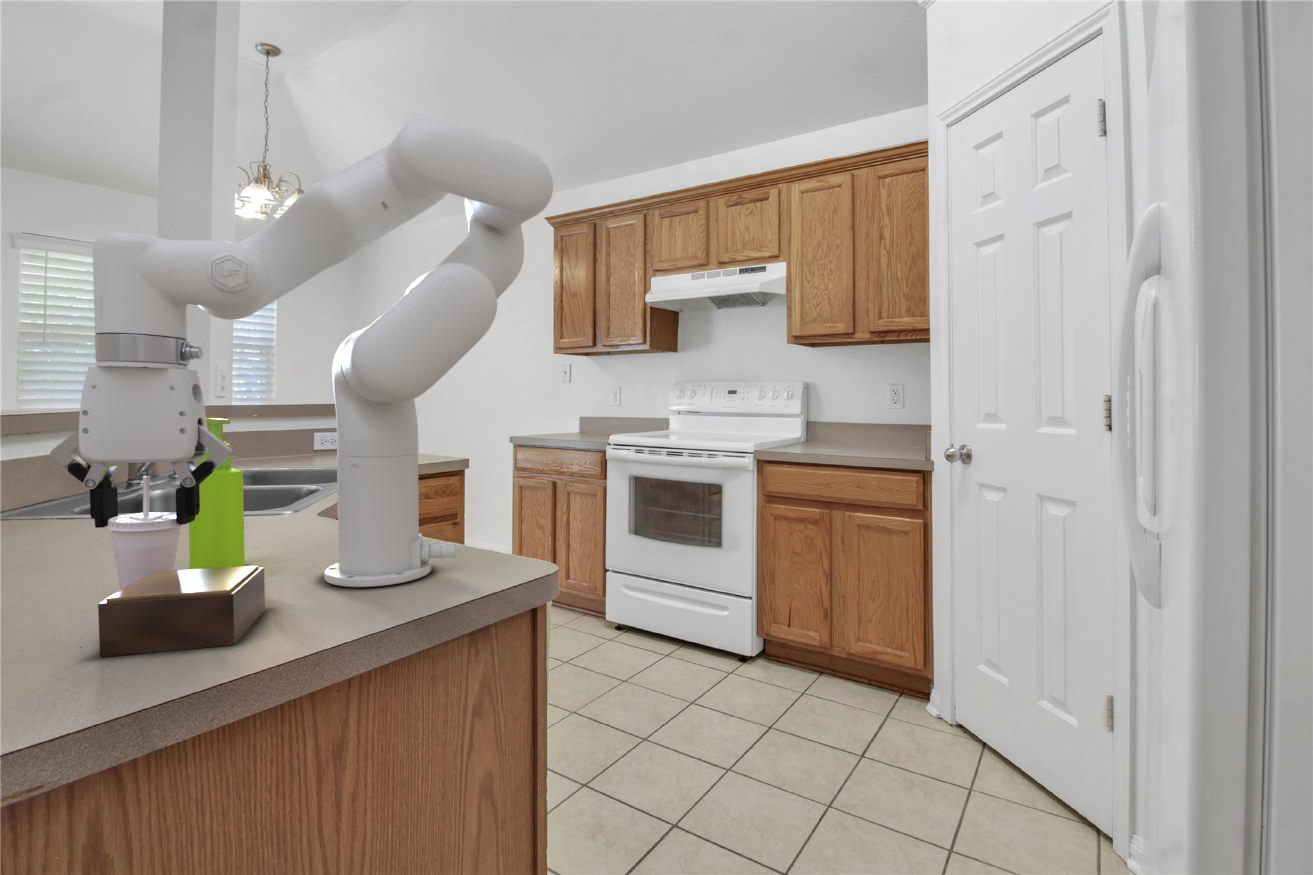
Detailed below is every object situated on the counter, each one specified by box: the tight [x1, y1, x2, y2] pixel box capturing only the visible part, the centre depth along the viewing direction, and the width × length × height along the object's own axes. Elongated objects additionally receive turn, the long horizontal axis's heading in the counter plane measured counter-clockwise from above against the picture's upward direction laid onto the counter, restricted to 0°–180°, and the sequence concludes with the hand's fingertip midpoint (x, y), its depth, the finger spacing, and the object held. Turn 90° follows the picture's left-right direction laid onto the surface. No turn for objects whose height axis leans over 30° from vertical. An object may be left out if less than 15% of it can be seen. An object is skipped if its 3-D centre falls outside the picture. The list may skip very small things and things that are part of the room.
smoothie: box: [107, 475, 185, 590], centre depth 67 cm, size 6×6×14 cm
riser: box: [97, 565, 266, 658], centre depth 60 cm, size 10×10×5 cm
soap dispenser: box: [188, 417, 246, 570], centre depth 82 cm, size 6×7×20 cm
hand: (147, 522), depth 67 cm, fingers closed on smoothie, 6 cm apart
